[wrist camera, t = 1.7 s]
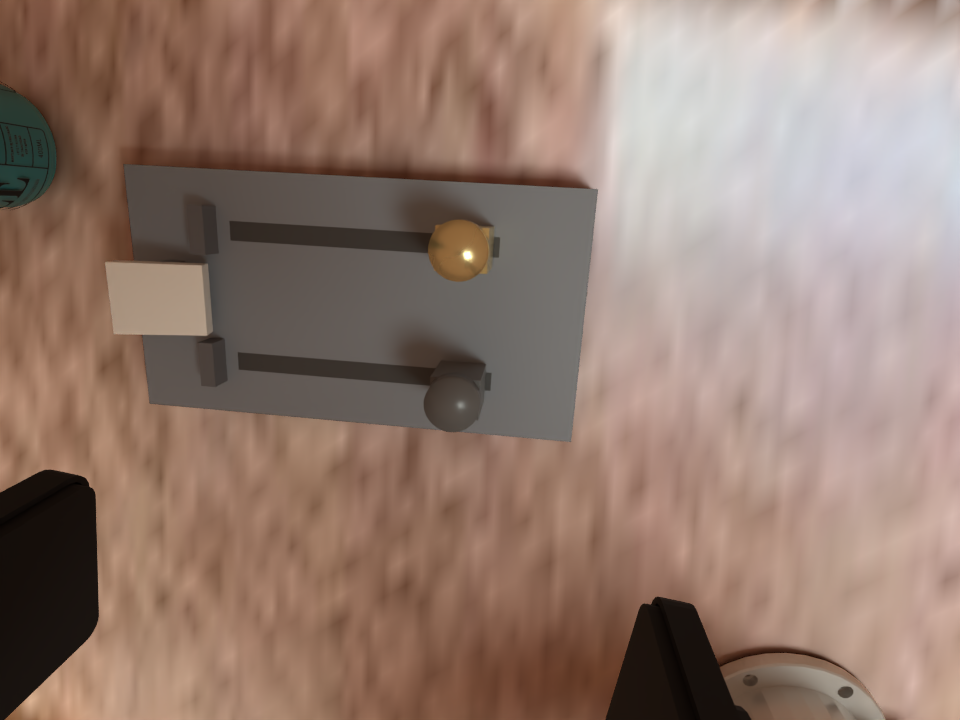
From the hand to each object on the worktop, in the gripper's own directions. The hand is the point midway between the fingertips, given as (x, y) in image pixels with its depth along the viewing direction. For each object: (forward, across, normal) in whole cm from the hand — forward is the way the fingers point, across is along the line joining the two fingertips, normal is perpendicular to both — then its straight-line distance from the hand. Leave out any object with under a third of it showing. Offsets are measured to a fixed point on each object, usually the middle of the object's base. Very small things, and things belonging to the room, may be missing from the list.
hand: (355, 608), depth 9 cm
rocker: (+19, +16, +1) cm, 25 cm away
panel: (+22, +7, 0) cm, 23 cm away
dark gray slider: (+20, 0, +2) cm, 20 cm away
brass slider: (+20, +1, -5) cm, 21 cm away
